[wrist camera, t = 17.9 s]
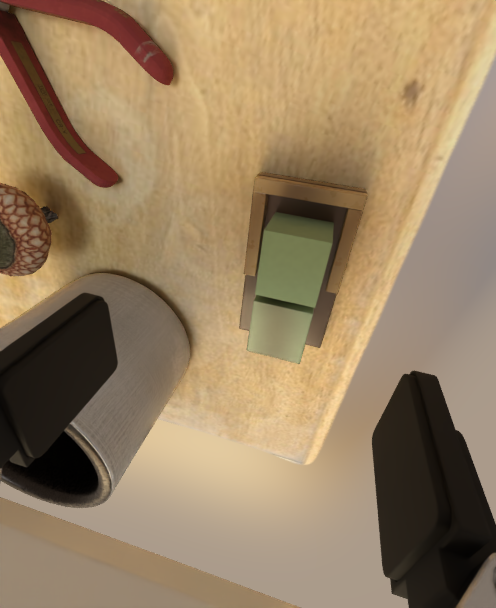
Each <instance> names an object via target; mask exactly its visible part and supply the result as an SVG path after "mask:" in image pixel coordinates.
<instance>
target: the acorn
mask: <svg viewBox="0 0 496 608" xmlns="http://www.w3.org/2000/svg"><path fill="white" fill-rule="evenodd" d="M56 219H58V216H57V214H56V213H54V212H53V211H52V210H50V208H48V207H47V206H46V207H45V206H44V207H43V208H40V207H39V206H38V205H36V203H35V201H34V200H33V199H32V198H30V197H29V196H28V195H27V194H26V193H25V192H23V191H20V190H18V189H17V188H16V187H12V186H8V185H6V184H2V183H0V273H2V274H6V275H9V276H24V275H28V274H32V273H34V272H36V271H37V270H38V269H40V268H41V267H42V265H43V264H44V263H45V262H46V259H47V257H48V253H49V249H50V246H51V235H52V232H51V229H50V227H49V225H48V223H51V222H52V221H54V220H56Z"/></svg>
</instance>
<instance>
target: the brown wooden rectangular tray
mask: <svg viewBox="0 0 496 608" xmlns="http://www.w3.org/2000/svg"><path fill="white" fill-rule="evenodd" d="M253 191H254V192H253V198H252V207H251V215H250V224H249V233H248V242H247V251H246V259H245V268H244V274H246V275H245V284H244V292H243V301H242V309H241V318H240V326H239V328H240V329H244V330H248V331H249V337H248V345H247V351H250V352H254V353H258V354H262V355H266V356H270V357H274V358H278V359H282V360H286V361H290V362H294V363H298V364H300V362H301V358H302V354H303V350H304V347H305V344H306V345H310V346H314V347H318V348H320V347H321V344H322V340H323V337H324V334H325V331H326V327H327V324H328V321H329V317H330V314H331V311H332V307H333V304H334V301H335V298H336V294H337V293H338V291H339V288H340V284H341V281H342V278H343V275H344V271H345V268H346V265H347V262H348V258H349V255H350V252H351V248H352V245H353V242H354V239H355V235H356V232H357V229H358V226H359V222H360V219H361V216H362V212H363V211H362V210H363V209H364V206H365V203H366V200H367V191H366V189H362V188H356V187H350V186H344V185H338V184H332V183H325V182H319V181H313V180H307V179H301V178H295V177H289V176H283V175H277V174H270V173H264V172H260V173H259V174H258V175H257V176H256V177H255V181H254V189H253ZM275 212H278V213H284V214H289V215H295V216H300V217H306V218H311V219H317V220H322V221H328V222H333V223H334V228H333V244H332V248H331V251H330V255H329V259H328V263H327V266H326V270H325V274H324V277H323V281H322V285H321V289H320V292H319V296H318V300H317V303H316V307H315V308H314V307H309V306H305V305H300V304H296V303H291V302H287V301H282V300H278V299H273V298H269V297H264V296H260V295H255V290H256V283H257V276H258V269H259V262H260V255H261V248H262V241H263V234H264V230H265V228H266V226H267V225H268V223H269V222H270V220H271V219H272V217H273V215H274V214H275Z"/></svg>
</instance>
